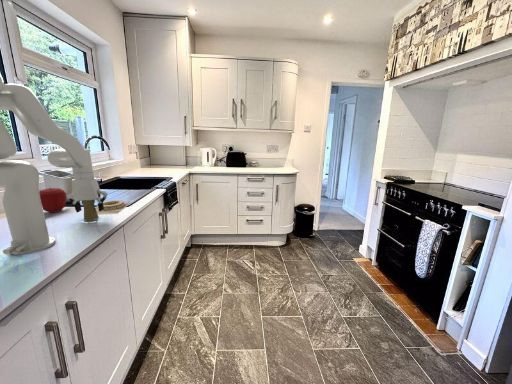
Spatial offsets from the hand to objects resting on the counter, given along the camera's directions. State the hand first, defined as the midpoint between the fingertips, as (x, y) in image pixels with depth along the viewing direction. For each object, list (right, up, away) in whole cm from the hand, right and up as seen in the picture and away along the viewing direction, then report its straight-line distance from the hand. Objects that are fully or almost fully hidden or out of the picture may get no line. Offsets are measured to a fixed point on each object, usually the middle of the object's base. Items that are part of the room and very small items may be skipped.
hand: (90, 211), depth 113 cm
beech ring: (-1, +1, +18) cm, 18 cm away
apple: (-27, -1, +12) cm, 30 cm away
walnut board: (0, -1, +16) cm, 16 cm away
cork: (0, -5, +1) cm, 5 cm away
